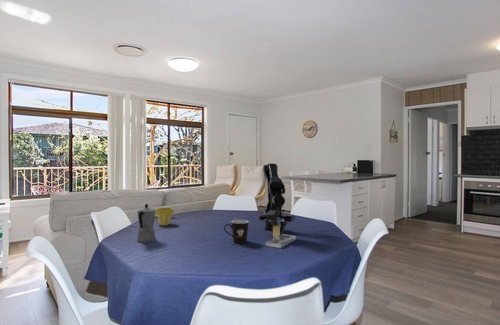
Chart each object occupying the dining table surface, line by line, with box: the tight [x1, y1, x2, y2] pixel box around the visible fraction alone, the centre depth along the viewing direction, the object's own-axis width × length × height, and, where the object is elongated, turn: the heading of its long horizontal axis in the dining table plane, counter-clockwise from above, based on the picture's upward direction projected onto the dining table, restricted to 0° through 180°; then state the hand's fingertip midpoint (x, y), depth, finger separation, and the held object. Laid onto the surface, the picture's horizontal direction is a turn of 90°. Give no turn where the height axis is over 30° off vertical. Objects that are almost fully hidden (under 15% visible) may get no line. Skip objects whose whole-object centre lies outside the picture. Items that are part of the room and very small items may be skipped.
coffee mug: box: [223, 219, 249, 244], centre depth 146 cm, size 12×9×10 cm
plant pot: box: [155, 207, 174, 226], centre depth 183 cm, size 10×10×10 cm
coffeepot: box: [136, 203, 156, 243], centre depth 147 cm, size 15×9×18 cm, turn 0°
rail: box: [265, 233, 297, 249], centre depth 144 cm, size 8×18×2 cm, turn 149°
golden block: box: [272, 224, 284, 238], centre depth 155 cm, size 4×4×6 cm
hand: (277, 233), depth 155 cm, fingers open, 5 cm apart
